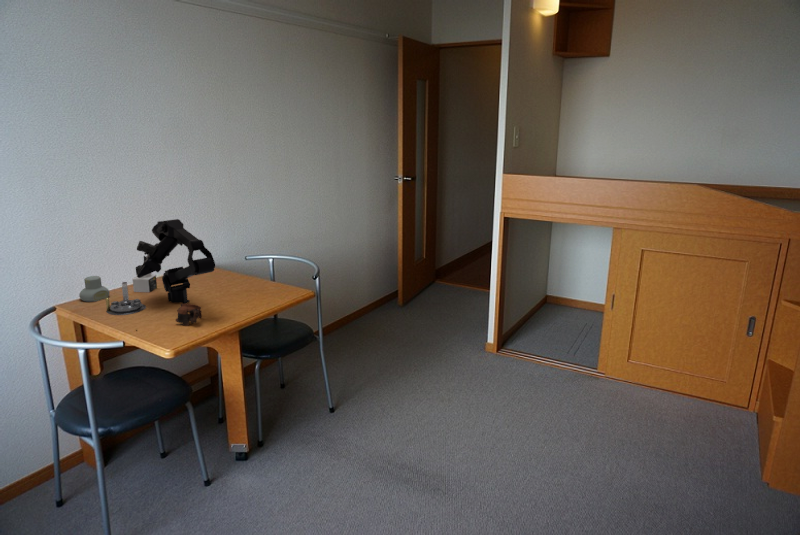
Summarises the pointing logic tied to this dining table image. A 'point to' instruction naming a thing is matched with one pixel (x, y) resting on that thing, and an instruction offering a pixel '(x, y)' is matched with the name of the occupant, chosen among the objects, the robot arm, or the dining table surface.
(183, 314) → the pottery mug
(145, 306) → the flange
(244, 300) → the dining table surface
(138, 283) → the medicine bottle
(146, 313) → the dining table surface
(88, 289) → the air freshener
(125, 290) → the grey studded disc
